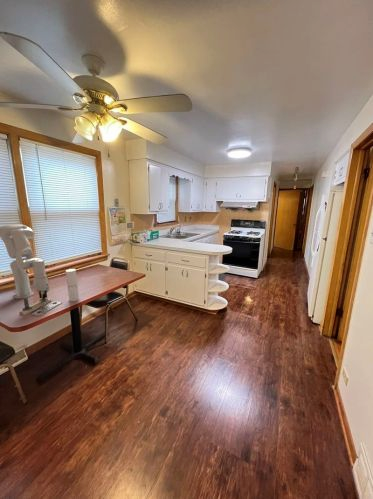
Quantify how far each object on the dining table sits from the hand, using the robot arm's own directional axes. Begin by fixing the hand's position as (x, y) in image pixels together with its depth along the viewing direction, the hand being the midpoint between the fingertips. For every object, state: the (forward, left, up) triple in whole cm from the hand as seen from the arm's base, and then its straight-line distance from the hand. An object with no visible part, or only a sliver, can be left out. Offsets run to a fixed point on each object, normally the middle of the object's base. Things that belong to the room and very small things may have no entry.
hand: (43, 297), depth 163 cm
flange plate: (+10, -7, -5) cm, 13 cm away
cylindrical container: (+18, +11, -5) cm, 22 cm away
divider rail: (0, -7, -5) cm, 8 cm away
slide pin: (0, 0, -2) cm, 2 cm away
